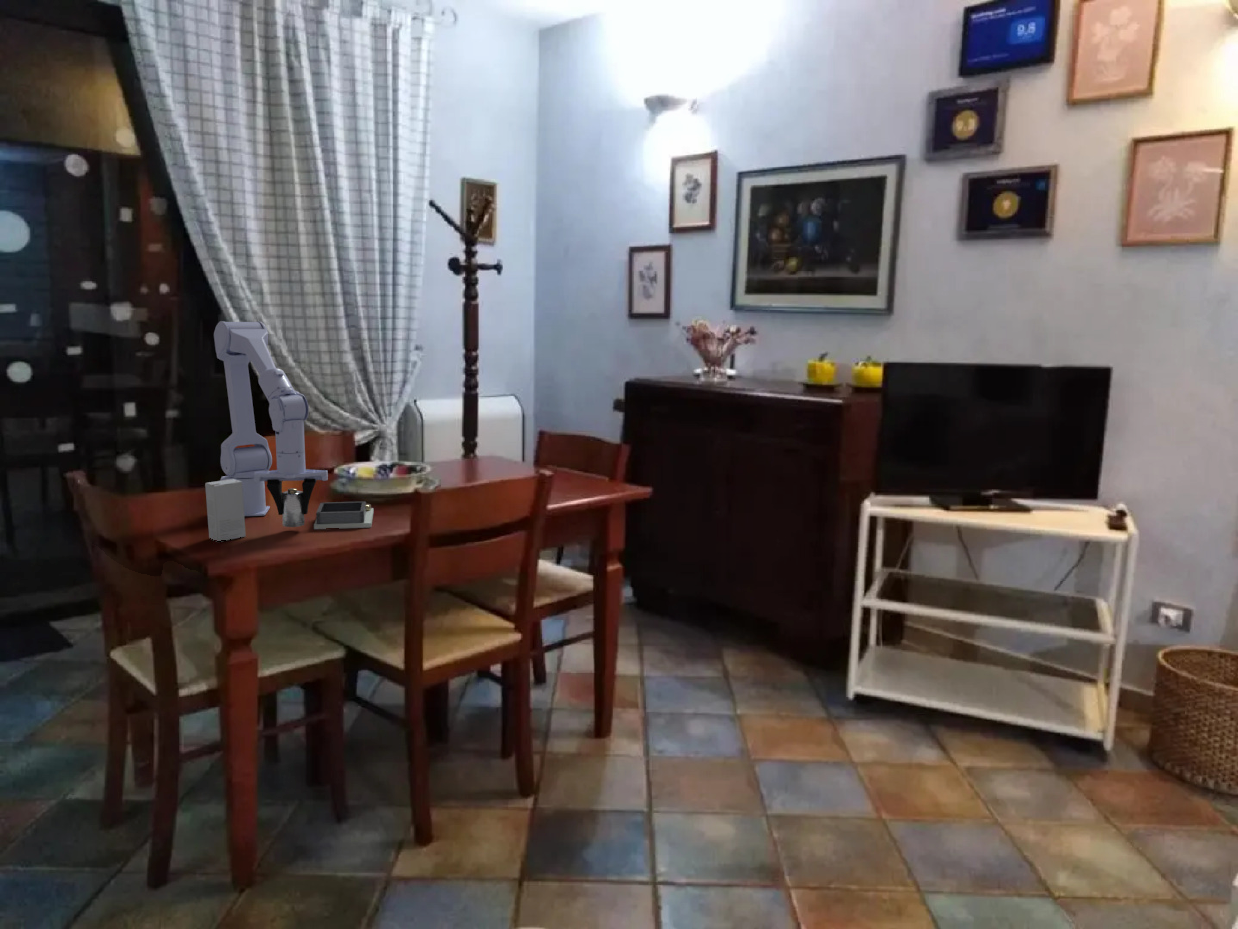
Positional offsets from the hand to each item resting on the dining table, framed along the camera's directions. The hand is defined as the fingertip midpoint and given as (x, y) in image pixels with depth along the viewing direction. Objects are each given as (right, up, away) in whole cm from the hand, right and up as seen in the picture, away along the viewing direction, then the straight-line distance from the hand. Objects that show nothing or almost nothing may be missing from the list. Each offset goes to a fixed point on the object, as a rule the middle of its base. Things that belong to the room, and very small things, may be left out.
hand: (293, 513), depth 186 cm
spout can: (0, -2, 0) cm, 2 cm away
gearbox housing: (+8, -2, +11) cm, 13 cm away
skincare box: (-12, -5, -6) cm, 14 cm away
